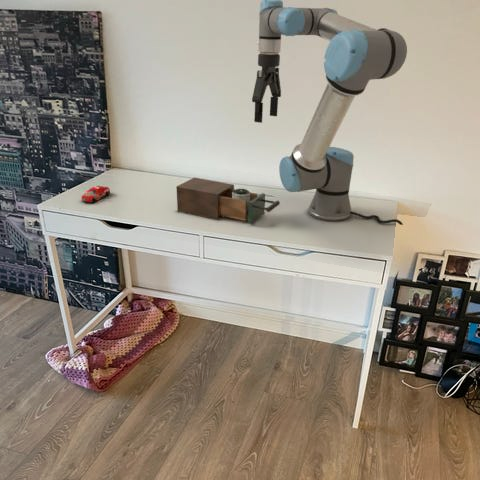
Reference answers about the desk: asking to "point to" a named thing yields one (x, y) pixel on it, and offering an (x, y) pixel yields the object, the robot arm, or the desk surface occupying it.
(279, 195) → the desk surface
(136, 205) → the desk surface
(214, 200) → the cabinet
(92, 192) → the race car
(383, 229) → the desk surface
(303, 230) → the desk surface
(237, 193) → the camera lens
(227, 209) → the drawer
